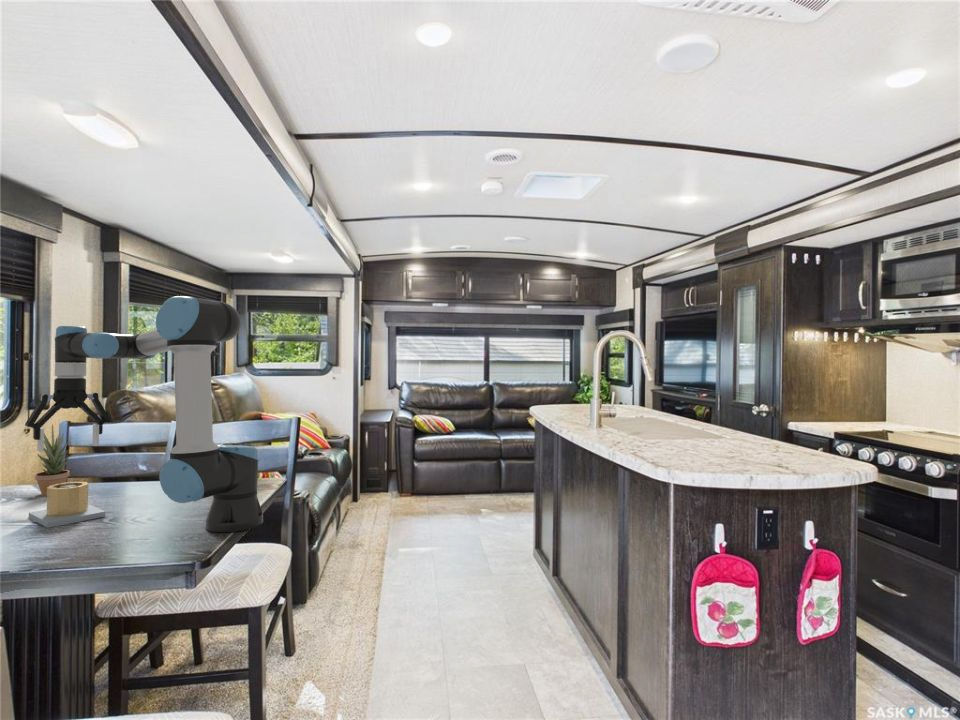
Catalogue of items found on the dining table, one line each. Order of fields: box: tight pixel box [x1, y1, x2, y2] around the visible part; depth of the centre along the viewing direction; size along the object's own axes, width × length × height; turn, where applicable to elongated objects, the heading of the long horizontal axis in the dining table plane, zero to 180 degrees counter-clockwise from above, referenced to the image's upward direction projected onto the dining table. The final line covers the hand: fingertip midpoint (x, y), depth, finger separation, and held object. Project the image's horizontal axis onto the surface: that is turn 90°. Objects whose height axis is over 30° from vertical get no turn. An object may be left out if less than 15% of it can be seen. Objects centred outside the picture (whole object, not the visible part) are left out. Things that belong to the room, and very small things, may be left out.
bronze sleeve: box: [46, 481, 89, 517], centre depth 156 cm, size 9×9×8 cm
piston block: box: [28, 485, 106, 529], centre depth 156 cm, size 16×14×9 cm
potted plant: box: [34, 423, 72, 496], centre depth 183 cm, size 10×10×25 cm
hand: (69, 448), depth 156 cm, fingers open, 13 cm apart
